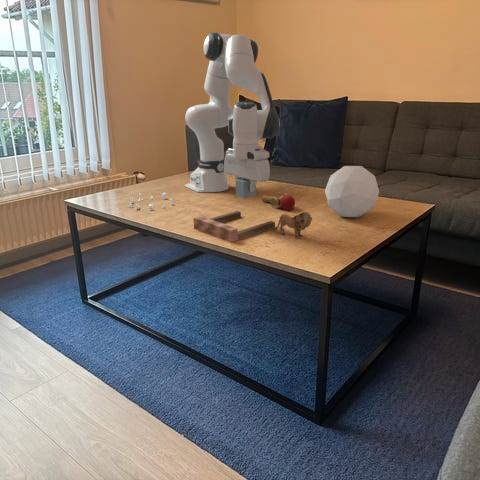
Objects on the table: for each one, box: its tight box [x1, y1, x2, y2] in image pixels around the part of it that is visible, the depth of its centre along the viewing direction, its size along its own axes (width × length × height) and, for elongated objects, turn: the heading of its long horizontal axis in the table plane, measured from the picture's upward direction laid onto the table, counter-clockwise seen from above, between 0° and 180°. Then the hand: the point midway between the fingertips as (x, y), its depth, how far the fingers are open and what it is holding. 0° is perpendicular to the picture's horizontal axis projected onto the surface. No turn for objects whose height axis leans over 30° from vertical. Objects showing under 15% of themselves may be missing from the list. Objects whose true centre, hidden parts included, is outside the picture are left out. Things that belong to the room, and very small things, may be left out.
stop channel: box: [193, 210, 276, 243], centre depth 163 cm, size 20×21×4 cm
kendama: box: [261, 193, 296, 211], centre depth 188 cm, size 8×6×18 cm
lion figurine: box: [272, 211, 313, 240], centre depth 154 cm, size 15×5×9 cm, turn 53°
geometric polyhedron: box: [324, 165, 380, 218], centre depth 171 cm, size 19×20×20 cm
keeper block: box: [235, 178, 257, 199], centre depth 163 cm, size 4×6×6 cm, turn 132°
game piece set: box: [128, 192, 175, 211], centre depth 195 cm, size 19×20×4 cm
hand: (245, 189), depth 164 cm, fingers closed on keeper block, 4 cm apart
